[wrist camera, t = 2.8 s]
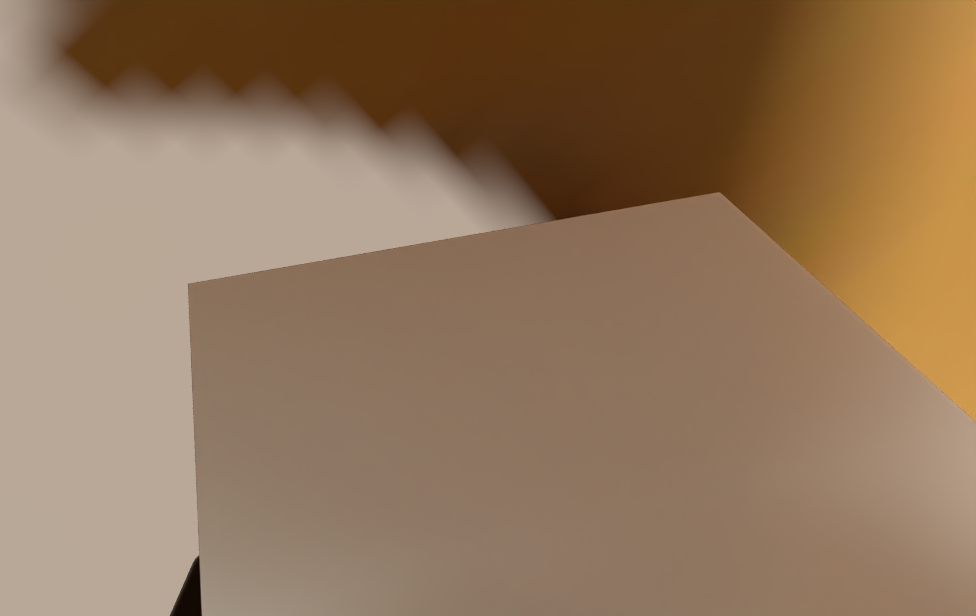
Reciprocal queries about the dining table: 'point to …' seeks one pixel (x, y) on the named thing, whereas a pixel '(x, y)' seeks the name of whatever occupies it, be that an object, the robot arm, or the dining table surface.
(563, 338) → the ceramic cube
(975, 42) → the dining table surface
